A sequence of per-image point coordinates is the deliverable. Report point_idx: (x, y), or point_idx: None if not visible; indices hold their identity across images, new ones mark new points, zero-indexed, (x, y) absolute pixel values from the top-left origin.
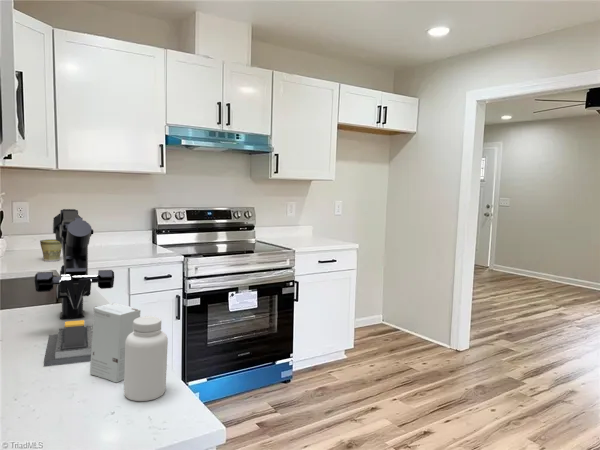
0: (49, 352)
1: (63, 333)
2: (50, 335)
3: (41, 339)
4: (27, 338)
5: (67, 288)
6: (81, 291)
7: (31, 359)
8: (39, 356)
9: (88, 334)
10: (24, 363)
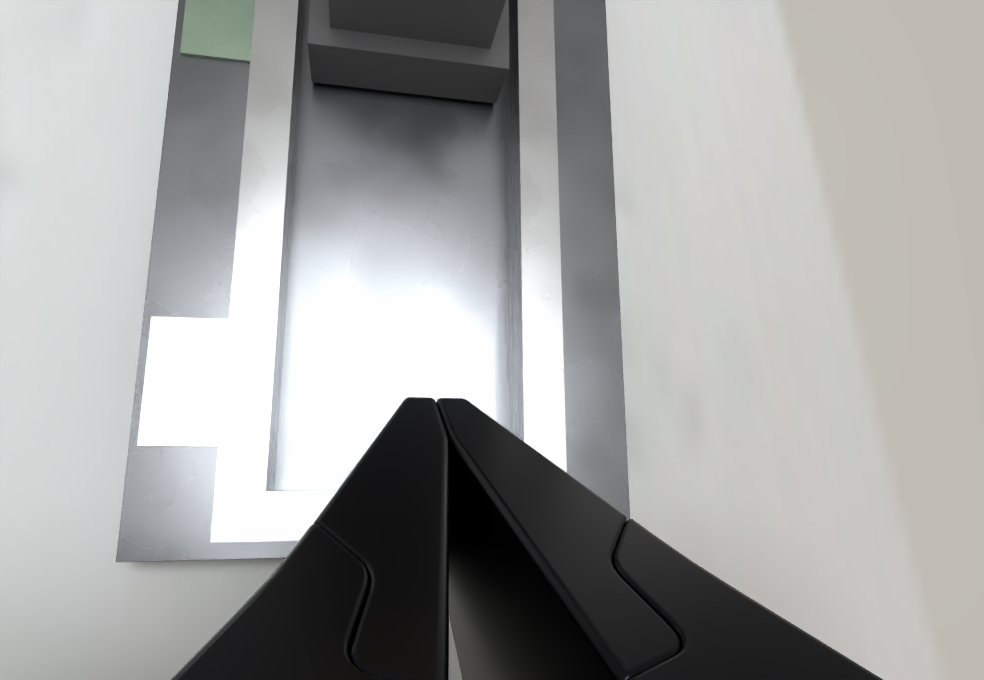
0: (583, 93)
1: None
2: None
3: None
4: None
5: (806, 638)
6: (300, 560)
7: (676, 131)
8: (635, 166)
9: (271, 232)
10: (704, 80)
